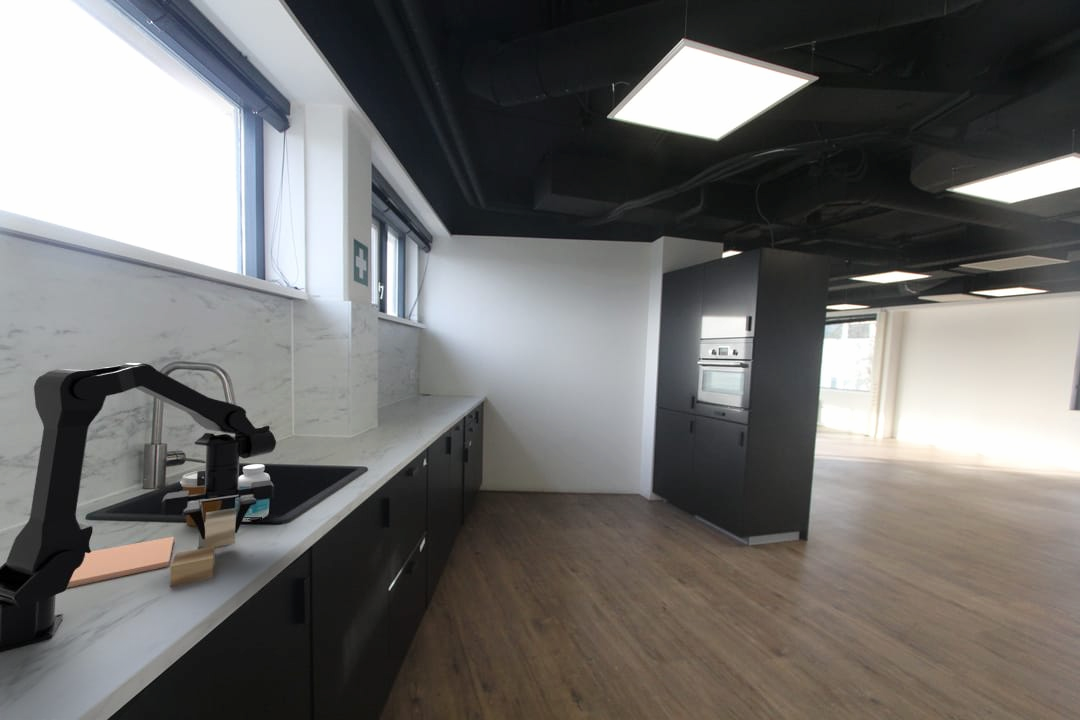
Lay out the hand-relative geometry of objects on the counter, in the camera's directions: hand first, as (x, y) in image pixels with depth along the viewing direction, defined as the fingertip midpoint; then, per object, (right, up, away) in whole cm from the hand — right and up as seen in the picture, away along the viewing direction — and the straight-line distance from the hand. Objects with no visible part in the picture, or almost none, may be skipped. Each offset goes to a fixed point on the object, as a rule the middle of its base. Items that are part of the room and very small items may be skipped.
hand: (219, 535), depth 88 cm
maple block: (0, -1, 0) cm, 1 cm away
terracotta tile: (-16, -3, -5) cm, 17 cm away
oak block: (+2, -4, -9) cm, 10 cm away
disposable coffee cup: (-17, -4, +17) cm, 25 cm away
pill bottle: (-7, -4, +20) cm, 22 cm away
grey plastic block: (-6, -4, +6) cm, 9 cm away
